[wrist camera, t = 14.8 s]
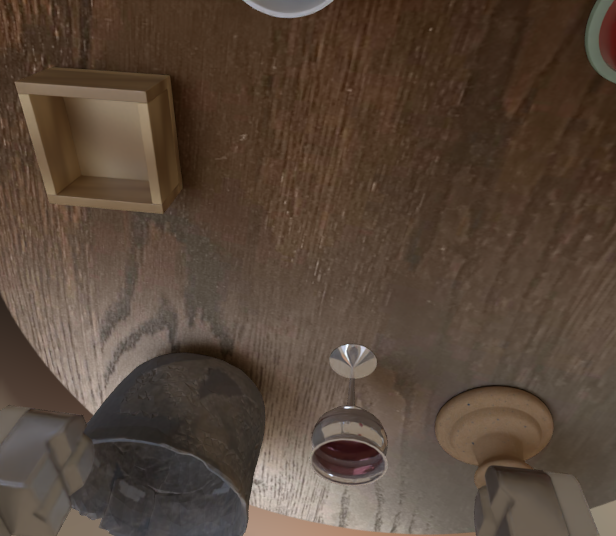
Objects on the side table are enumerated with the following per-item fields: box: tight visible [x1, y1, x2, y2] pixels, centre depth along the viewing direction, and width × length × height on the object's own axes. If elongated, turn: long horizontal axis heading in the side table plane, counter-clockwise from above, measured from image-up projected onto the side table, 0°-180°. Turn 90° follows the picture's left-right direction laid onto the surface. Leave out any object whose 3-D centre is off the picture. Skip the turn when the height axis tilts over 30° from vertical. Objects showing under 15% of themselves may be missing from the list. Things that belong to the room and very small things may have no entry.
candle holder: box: [435, 386, 554, 489], centre depth 45 cm, size 12×12×20 cm
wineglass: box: [309, 344, 388, 486], centre depth 46 cm, size 7×7×12 cm
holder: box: [15, 67, 183, 214], centre depth 37 cm, size 9×9×5 cm
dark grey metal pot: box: [70, 353, 265, 536], centre depth 49 cm, size 18×18×15 cm
